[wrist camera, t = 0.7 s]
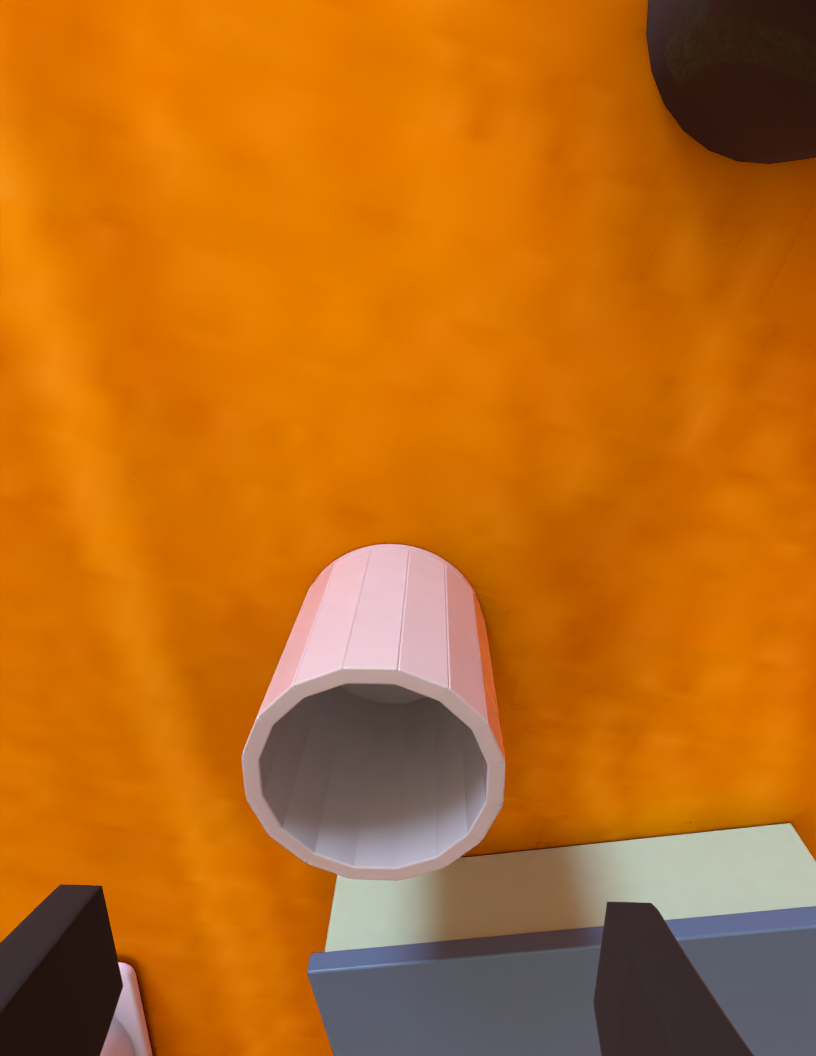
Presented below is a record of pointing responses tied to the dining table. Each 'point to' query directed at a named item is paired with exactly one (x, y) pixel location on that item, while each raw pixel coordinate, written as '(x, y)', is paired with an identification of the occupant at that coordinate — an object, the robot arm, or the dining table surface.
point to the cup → (738, 74)
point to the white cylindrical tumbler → (380, 721)
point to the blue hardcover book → (567, 945)
